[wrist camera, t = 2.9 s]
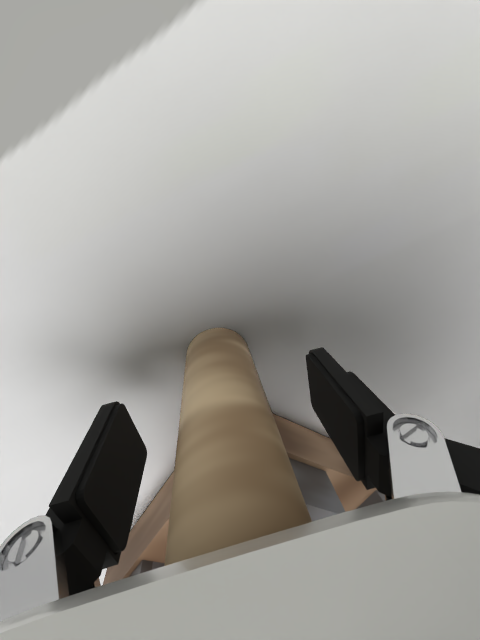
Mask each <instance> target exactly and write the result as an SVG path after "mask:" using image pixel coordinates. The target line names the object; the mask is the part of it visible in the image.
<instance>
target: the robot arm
mask: <svg viewBox="0 0 480 640" xmlns="http://www.w3.org/2000/svg"><path fill="white" fill-rule="evenodd" d="M306 363H307V371H308V380H309V388H310V396H311V403H312V407H313V409H314V411H315V413H316V414H317V416H318V418H319V419H320V421H321V423H322V424H323V426H324V428H325V429H326V431H327V433H328V435H329V436H330V438H331V440H332V441H333V443H334V445H335V446H336V448H337V450H338V451H339V453H340V455H341V457H342V458H343V460H344V462H345V463H346V465H347V467H348V468H349V470H350V472H351V473H352V475H353V477H354V478H355V480H356V481H362V483H363V485H364V486H365V488H366V489H367V490H369V489H373V488H376V489H377V490H378V492H380V493H382V494H384V495H385V501H384V502H380V503H376V504H373V505H369V506H365V507H362V508H358V509H355V510H351V511H347V512H344V513H340V514H337V515H333V516H330V517H327V518H323V519H320V520H316V521H313V522H310V523H306V524H303V525H300V526H296V527H293V528H289V529H286V530H283V531H279V532H276V533H272V534H269V535H266V536H262V537H259V538H256V539H252V540H249V541H246V542H242V543H239V544H236V545H232V546H229V547H226V548H222V549H219V550H216V551H213V552H209V553H206V554H203V555H199V556H196V557H193V558H189V559H186V560H183V561H180V562H176V563H173V564H170V565H166V566H163V567H160V568H157V569H153V570H150V571H147V572H144V573H140V574H137V575H134V576H131V577H128V578H124V579H121V580H118V581H115V582H111V583H108V584H105V585H102V586H101V585H100V581H99V576H100V575H101V572H102V569H104V568H108V567H111V566H115V565H118V563H119V559H120V555H121V551H124V550H125V548H126V545H127V541H128V537H129V533H130V528H131V524H132V519H133V515H134V511H135V506H136V502H137V497H138V493H139V488H140V484H141V480H142V475H143V471H144V466H145V462H146V458H147V450H146V447H145V445H144V443H143V441H142V439H141V437H140V435H139V433H138V431H137V429H136V427H135V425H134V423H133V421H132V419H131V417H130V415H129V413H128V411H127V409H126V407H125V405H124V404H120V403H119V402H113V403H109V404H105V405H102V406H101V408H100V410H99V412H98V414H97V415H96V417H95V419H94V421H93V423H92V425H91V427H90V429H89V431H88V432H87V434H86V436H85V438H84V440H83V442H82V444H81V446H80V448H79V449H78V451H77V453H76V455H75V457H74V459H73V461H72V463H71V465H70V466H69V468H68V470H67V472H66V474H65V476H64V478H63V480H62V482H61V483H60V485H59V487H58V489H57V491H56V493H55V495H54V497H53V498H52V500H51V502H50V504H49V507H50V508H49V510H48V512H47V514H46V516H38V517H35V518H32V519H30V520H28V521H27V522H25V523H23V524H22V525H21V526H19V527H18V528H17V529H16V530H14V531H13V532H12V533H11V534H10V535H9V536H8V537H7V538H6V539H5V541H4V542H3V543H2V545H1V546H0V640H480V449H479V448H475V447H472V446H469V445H465V444H462V443H459V442H455V441H452V440H448V439H445V438H444V436H443V434H442V432H441V430H440V429H439V428H438V427H437V426H436V425H435V424H434V423H432V422H431V421H429V420H428V419H425V418H423V417H421V416H418V415H413V414H398V415H395V414H394V413H393V412H392V411H391V410H390V409H389V408H388V407H387V406H386V405H385V404H384V403H383V402H382V401H381V400H380V399H379V398H378V397H377V396H376V395H375V394H374V393H373V392H372V391H371V390H370V389H369V388H368V387H367V386H366V385H365V384H364V383H363V382H362V381H361V380H360V379H359V378H358V377H357V376H356V375H355V374H354V373H352V372H346V371H345V370H344V369H343V368H342V367H341V366H340V365H339V364H338V363H337V362H336V361H335V360H334V359H333V358H332V356H331V355H330V354H329V353H328V352H327V351H326V350H325V349H324V348H318V349H314V350H310V351H309V354H308V355H306Z"/></svg>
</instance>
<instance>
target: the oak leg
mask: <svg viewBox="0 0 480 640" xmlns="http://www.w3.org/2000/svg"><path fill="white" fill-rule="evenodd" d="M310 522H312V520H311V517H310V515H309V512H308V509H307V506H306V504H305V501H304V498H303V496H302V493H301V490H300V487H299V485H298V482H297V479H296V477H295V474H294V471H293V468H292V466H291V463H290V460H289V457H288V455H287V452H286V449H285V447H284V444H283V441H282V438H281V436H280V433H279V430H278V428H277V425H276V422H275V419H274V417H273V414H272V411H271V409H270V406H269V403H268V400H267V398H266V395H265V392H264V389H263V387H262V384H261V381H260V379H259V376H258V373H257V370H256V368H255V365H254V362H253V360H252V357H251V354H250V351H249V349H248V346H247V344H246V342H245V340H244V339H243V338H242V337H241V336H240V335H239V334H238V333H236V332H235V331H232V330H230V329H226V328H212V329H208V330H206V331H203V332H202V333H200V334H198V335H197V336H196V337H195V338H194V339H193V340H192V341H191V343H190V345H189V347H188V349H187V354H186V364H185V373H184V383H183V393H182V402H181V412H180V421H179V431H178V440H177V450H176V460H175V469H174V479H173V488H172V498H171V507H170V517H169V526H168V536H167V546H166V555H165V565H164V566H166V565H170V564H173V563H176V562H180V561H183V560H186V559H189V558H193V557H196V556H199V555H203V554H206V553H209V552H213V551H216V550H219V549H222V548H226V547H229V546H232V545H236V544H239V543H242V542H246V541H249V540H252V539H256V538H259V537H262V536H266V535H269V534H272V533H276V532H279V531H283V530H286V529H289V528H293V527H296V526H300V525H303V524H306V523H310Z"/></svg>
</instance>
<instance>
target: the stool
mask: <svg viewBox="0 0 480 640" xmlns="http://www.w3.org/2000/svg"><path fill="white" fill-rule="evenodd" d="M272 414H273V413H272ZM273 417H274V419H275V422H276V425H277V428H278V430H279V433H280V436H281V438H282V441H283V444H284V447H285V449H286V452H287V455H288V457H289V460H290V463H291V466H292V468H293V471H294V474H295V477H296V479H297V482H298V485H299V487H300V490H301V493H302V496H303V498H304V501H305V504H306V506H307V509H308V512H309V515H310V517H311V520H312V522H313V521H316V520H320V519H323V518H327V517H330V516H333V515H337V514H340V513H344V512H347V511H351V510H355V509H358V508H362V507H365V506H369V505H373V504H376V503H380V502H384V501H385V495H384V494H382V493H380V492H378V490H377V489H376V488H373V489H369V490H367V489H366V488H365V486H364V485H363V483H362V481H356V480H355V478H354V477H353V475H352V473H351V472H350V470H349V468H348V467H347V465H346V463H345V462H344V460H343V458H342V457H341V455H340V453H339V451H338V450H337V448H336V446H335V445H334V443H333V441H332V440H331V439H330V438H328V437H326V436H323V435H321V434H319V433H316V432H314V431H312V430H310V429H307V428H305V427H303V426H300V425H298V424H296V423H293V422H291V421H289V420H287V419H284V418H282V417H280V416H277V415H275V414H273ZM173 479H174V471H173V473H172V474H171V476H170V477H169V478H168V480H167V481H166V483H165V484H164V485H163V487H162V488H161V489H160V491H159V492H158V494H157V495H156V496H155V498H154V499H153V501H152V502H151V503H150V505H149V506H148V507H147V509H146V510H145V512H144V513H143V514H142V516H141V517H140V519H139V520H138V521H137V523H136V524H135V525H134V527H133V528H132V530H131V531H130V533H129V537H128V541H127V545H126V548H125V550H124V551H121V555H120V559H119V563H118V565H115V566H111V567H108V568H107V571H106V575H105V579H104V582H103V585H105V584H108V583H111V582H115V581H118V580H121V579H124V578H128V577H131V576H134V575H137V574H140V573H144V572H147V571H150V570H153V569H157V568H160V567H163V566H164V565H165V555H166V546H167V536H168V526H169V517H170V507H171V498H172V488H173Z"/></svg>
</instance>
